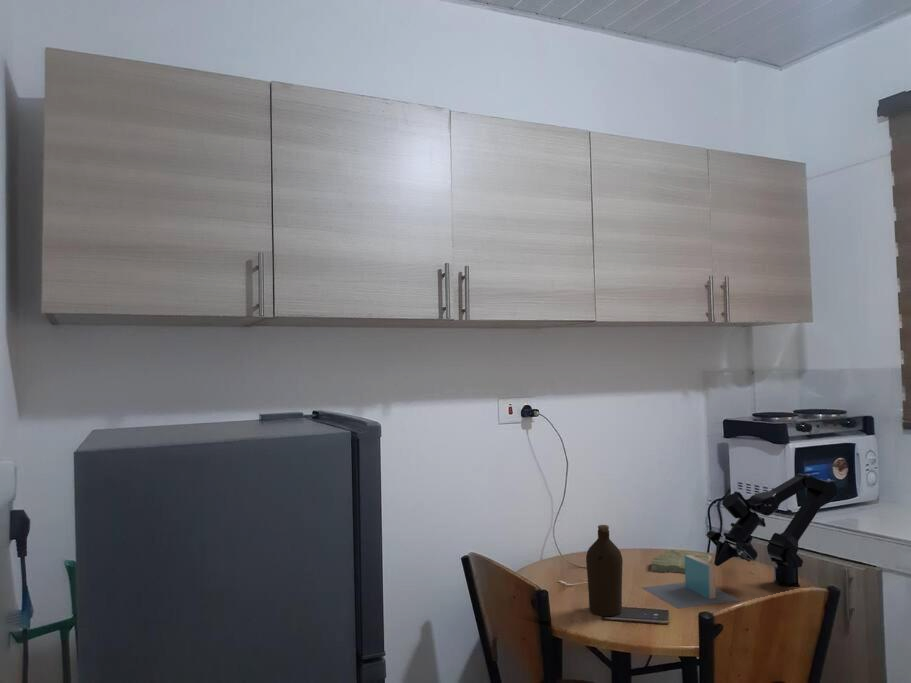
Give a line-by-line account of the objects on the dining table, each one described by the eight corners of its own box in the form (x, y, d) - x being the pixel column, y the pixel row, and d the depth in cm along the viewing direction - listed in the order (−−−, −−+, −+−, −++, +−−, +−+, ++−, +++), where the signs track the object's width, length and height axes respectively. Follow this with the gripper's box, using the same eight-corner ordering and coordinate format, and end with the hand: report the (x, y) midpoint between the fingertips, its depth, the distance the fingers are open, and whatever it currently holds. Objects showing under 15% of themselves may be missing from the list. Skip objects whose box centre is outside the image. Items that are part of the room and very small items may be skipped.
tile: (691, 586, 221) (691, 554, 222) (715, 597, 210) (714, 565, 210) (685, 586, 220) (684, 555, 221) (708, 598, 209) (707, 565, 209)
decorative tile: (712, 563, 249) (712, 553, 250) (704, 578, 232) (704, 568, 232) (660, 557, 258) (660, 548, 258) (648, 572, 240) (648, 561, 241)
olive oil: (629, 616, 197) (626, 529, 198) (593, 618, 196) (591, 531, 197) (616, 603, 208) (614, 521, 209) (582, 605, 207) (580, 522, 208)
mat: (700, 582, 227) (700, 580, 227) (740, 602, 207) (740, 600, 207) (641, 589, 221) (641, 587, 221) (677, 610, 201) (677, 608, 201)
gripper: (780, 551, 213) (751, 590, 209) (740, 537, 231) (712, 573, 227) (758, 527, 211) (729, 567, 207) (719, 515, 229) (691, 551, 225)
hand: (715, 565), depth 217 cm, fingers closed
